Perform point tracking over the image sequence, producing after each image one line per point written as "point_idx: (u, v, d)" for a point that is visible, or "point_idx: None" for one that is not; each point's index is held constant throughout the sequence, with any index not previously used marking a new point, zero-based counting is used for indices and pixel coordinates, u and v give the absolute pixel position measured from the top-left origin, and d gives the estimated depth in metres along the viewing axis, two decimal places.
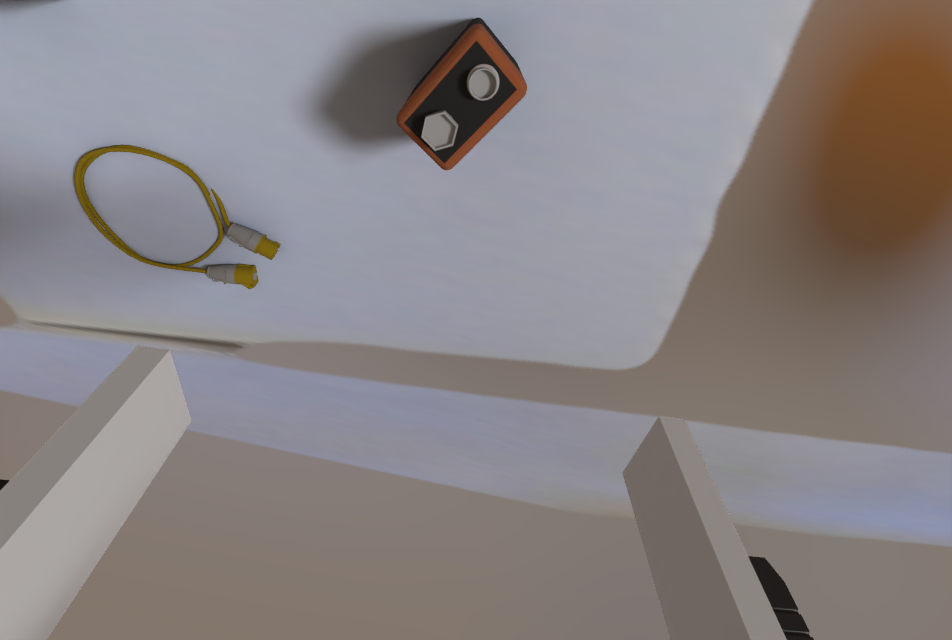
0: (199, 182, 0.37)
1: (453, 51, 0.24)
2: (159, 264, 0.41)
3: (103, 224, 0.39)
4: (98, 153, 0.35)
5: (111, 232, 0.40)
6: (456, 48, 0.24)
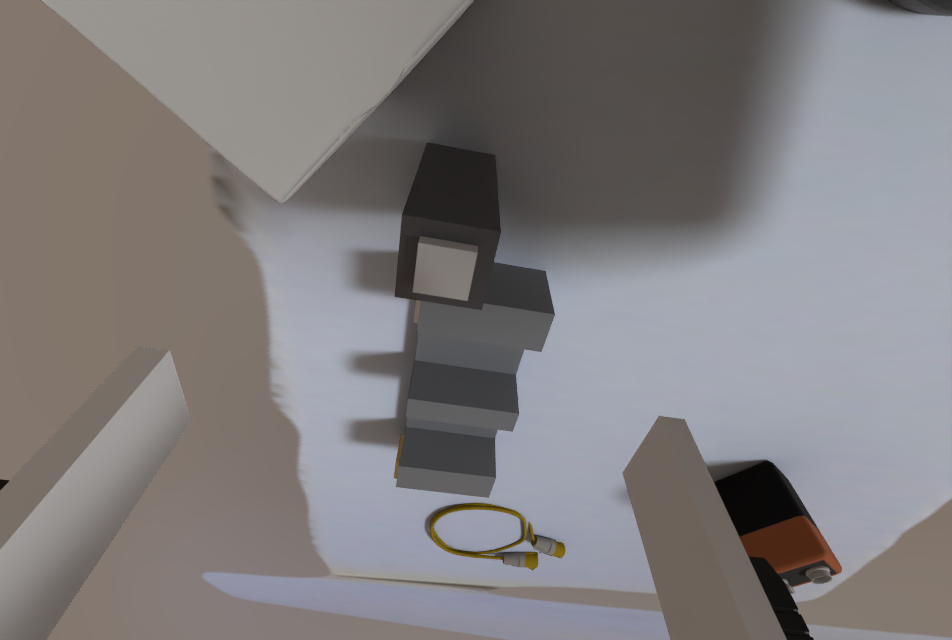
0: (524, 520, 0.50)
1: (803, 558, 0.37)
2: (467, 555, 0.54)
3: (436, 536, 0.52)
4: (460, 510, 0.48)
5: (439, 539, 0.53)
6: (806, 558, 0.37)
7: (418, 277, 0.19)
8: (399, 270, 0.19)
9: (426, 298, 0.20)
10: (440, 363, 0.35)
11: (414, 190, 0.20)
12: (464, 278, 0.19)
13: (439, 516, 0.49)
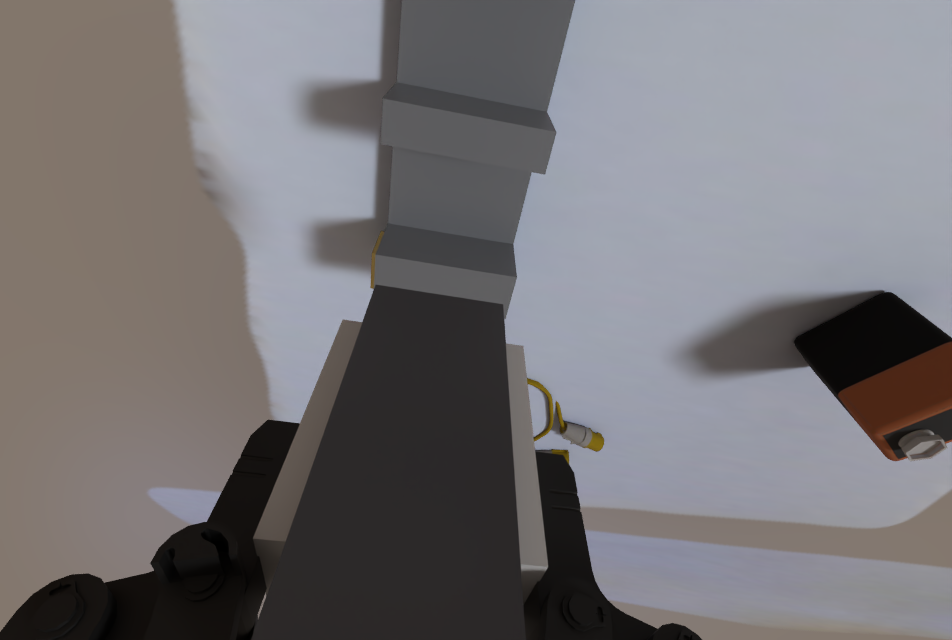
0: (549, 395, 0.38)
1: None
2: None
3: None
4: None
5: None
6: None
7: None
8: None
9: None
10: (435, 87, 0.23)
11: (306, 510, 0.08)
12: None
13: None
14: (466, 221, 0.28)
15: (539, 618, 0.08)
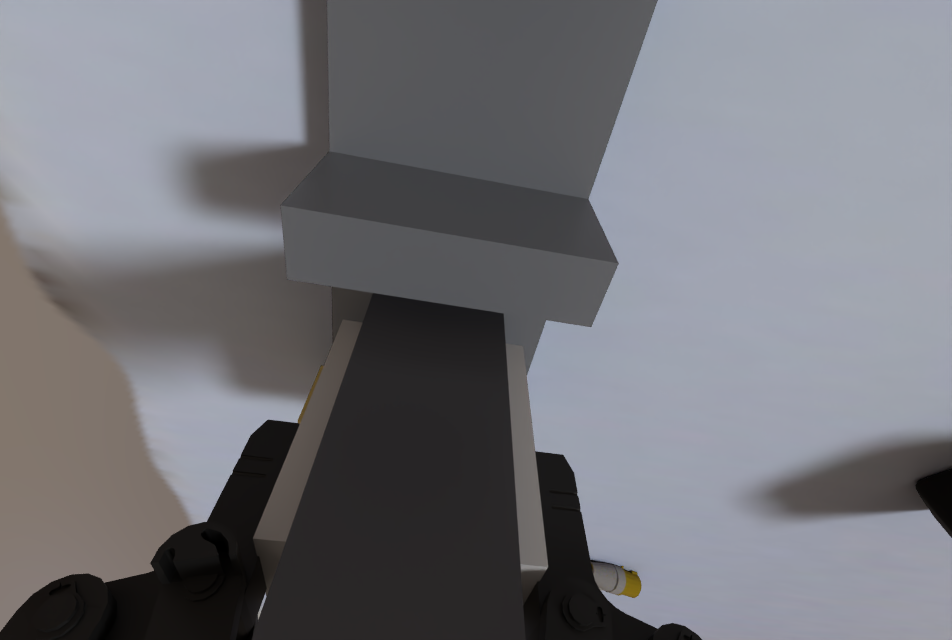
0: None
1: None
2: None
3: None
4: None
5: None
6: None
7: None
8: None
9: None
10: (396, 161, 0.13)
11: (306, 510, 0.08)
12: None
13: None
14: None
15: (539, 618, 0.08)
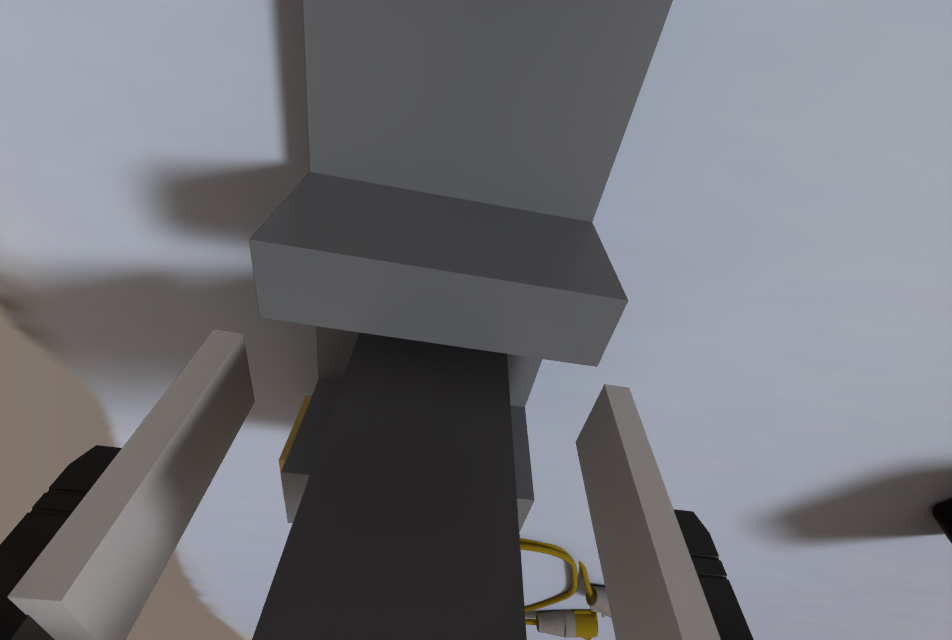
0: (572, 563, 0.27)
1: None
2: None
3: None
4: None
5: None
6: None
7: None
8: None
9: None
10: (383, 182, 0.12)
11: (315, 485, 0.08)
12: None
13: None
14: None
15: None
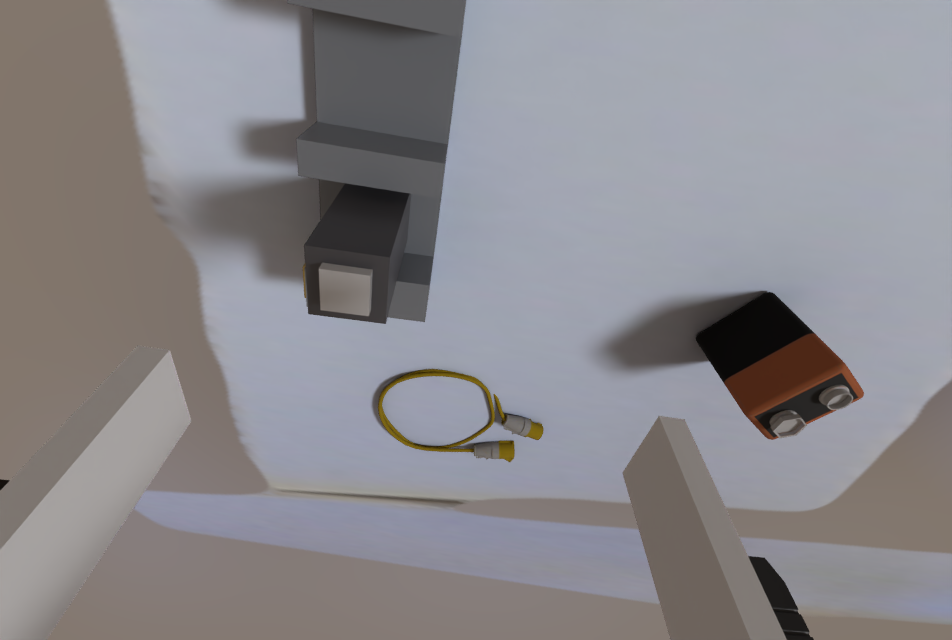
0: (486, 389, 0.42)
1: (815, 375, 0.29)
2: (431, 449, 0.46)
3: (390, 425, 0.45)
4: (406, 379, 0.40)
5: (394, 429, 0.45)
6: (819, 374, 0.29)
7: (323, 297, 0.22)
8: (309, 291, 0.23)
9: (336, 314, 0.23)
10: (350, 126, 0.27)
11: (322, 222, 0.23)
12: (362, 297, 0.22)
13: (384, 391, 0.41)
14: None
15: None
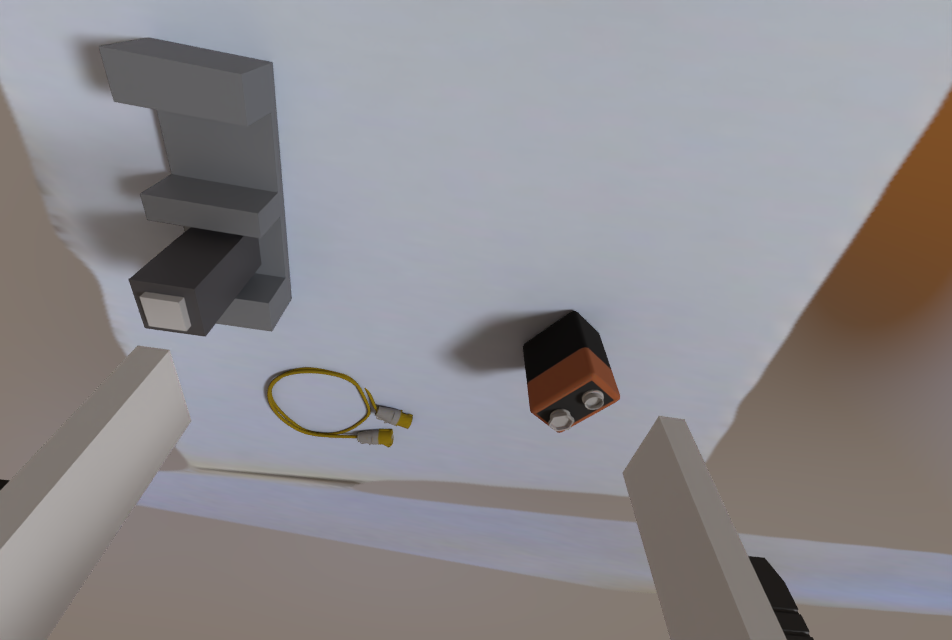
0: (356, 385, 0.49)
1: (575, 382, 0.37)
2: (321, 435, 0.54)
3: (282, 413, 0.52)
4: (286, 375, 0.48)
5: (287, 417, 0.53)
6: (577, 381, 0.37)
7: (148, 317, 0.30)
8: (140, 312, 0.30)
9: (165, 329, 0.31)
10: (198, 178, 0.35)
11: (155, 259, 0.31)
12: (177, 317, 0.30)
13: (270, 385, 0.49)
14: None
15: None
